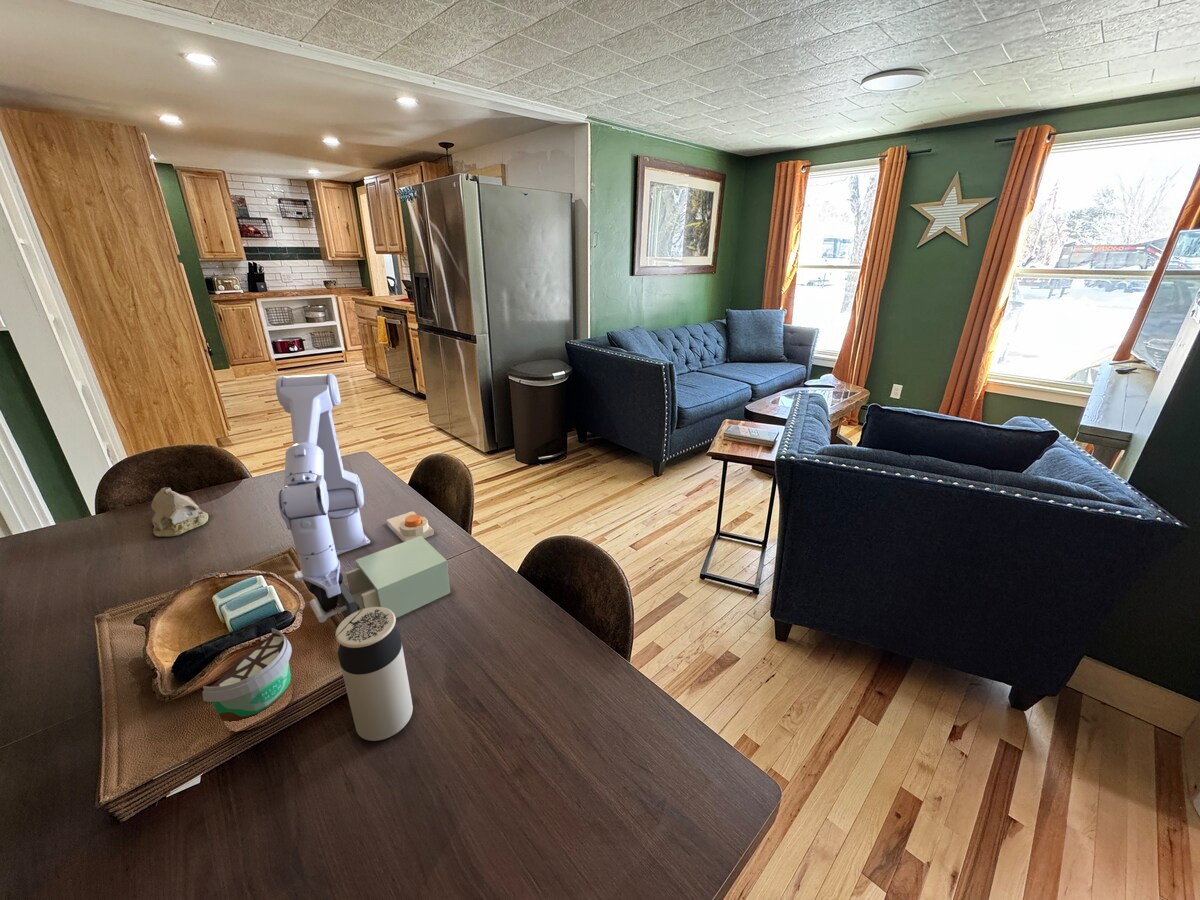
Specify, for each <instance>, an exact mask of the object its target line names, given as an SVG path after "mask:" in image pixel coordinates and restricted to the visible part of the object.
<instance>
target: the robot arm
mask: <svg viewBox="0 0 1200 900" xmlns="http://www.w3.org/2000/svg"><path fill="white" fill-rule="evenodd" d="M275 392H276V397H277V400H278V403H279V405H280V406H281V407H282V408H283V411H284V412H285V413H287V414H290V422H291V432H292V445H291V446H289V447H288V448H287V449H286V451H285V454H284V455H285V456H284V457H285V458H284V484H283V485H284V488H279V491H278V494H277V498H278V499H277V502H278V508H279V512H280V513H279V514H280V515H281V518H282V519H283V521H284V522H285V526H286V528H287V531H288V530H289V531H291V536H292V539H293V543H294V548H295V552H296V555H297V558H298V564H299V567H300V570H298V571H296V572H294V573H293V576H294V579H295V581H296V582H301V581H303V584H304V585H305V587H306V588H307V591H308V592H309V593H310V594H312V595H313V596H314V597H315V599H317V600H318V601H319V603H320V605H321V607H322V609H323V610H324V612H325V613H329V612H331V611H333V610H336V609H338V605H339V604H338V594H340V593H341V591H340V585H341V583H342V581H343V582H344V576H343V574H342V573H341V572H340V570H341V562H340V560H339V559H338V556H339V555H341V554H344V553H347V552H350V551H353V550H356V549H358V548H361V547H365V546H367V545H370V544H371V543H372V542H371V540H370V539H369V537H368V536H367V535H366V534H365V532H364V529H363V528H364V527H363V523H362V522H363V521H362V517H361V512H360V509H361V508H362V507H363V506H364V504H365V496H364V489H363V485H362V482H361V479H360V476H358V474H357V473H354V472H352V471H348V470H345V469H344V465H343V460H342V455H341V451H340V445H339V441H338V437H337V436H338V435H337V431H336V428H335V427H336V426H335V422H334V418H333V413H332V411H333V408H334V407H337V406H340V405H341V402H342V398H341V394H340V389H339V383H338V380H337V377H336V376H335V374H333V373H332V372H328V373H321V374H319V373H318V374H301V375H300V374H299V375H278V377H277V379H276V381H275Z"/></svg>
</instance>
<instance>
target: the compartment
mask: <svg viewBox="0 0 1200 900" xmlns="http://www.w3.org/2000/svg"><path fill="white" fill-rule="evenodd" d="M345 576H346V580H347V585H348V587H347V585H346V584H345V582H344V580H343V581H342V583H341V585H340V591H341V593H340V594H338V604H337V605H338V606H339V607H337V608H335V609H333V610H330V611H328V612H325V611H324V610H323V609H322V607H321V605H320V603H319V601H318V599H317V598H312V599H311V600H310V601H309V605H310V606H309V607H310V608H311V610H312V611H313V613H314V615H315V617H316V619H317V621H318V622H319V623H322V624H323V623H325V622H327V620H328V618H331V617H332V616H335V615H338V614H340V613H342V612H343V614H344V616H345V618H346V617H348V616H349V615H351V614H353V613H354V612H357V611H359V610H362V609H365V608H370V607H380V606H379V601H378V596H377V591H376V589H375V588H374V587H373V585H372V584H371V583H370V581H369V580H368V579H367V577H366V576H365V575H364V573H363V572H362V571H361V569H360V568H357V567H356V568H354V569H351V570H349V571H346V572H345Z"/></svg>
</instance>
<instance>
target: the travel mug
mask: <svg viewBox="0 0 1200 900" xmlns="http://www.w3.org/2000/svg"><path fill="white" fill-rule="evenodd" d="M396 621H397V618H395V615H394V613H393V612H392V611H391V610H389V609H387V608H383V607H370V608H365V609H362V610H360V609H358V611H357V612H354V613H353V614H351V615H349V616H348V617H346V616H345V618H344V619H342V621H341V622H340V623H339V624H338V626H337V627H336V630H335V640H336V641H337V643H338V644H339V646H338V647H337V648H338V649H337V657H338V661H339V666H340V670H341V673H342V677H343V682H344V685H345V691H346V695H347V698H348V702H349V707H350V712H351V715H352V718H353V724H354V728H355V731H356V733H357V735H358V736H359V737H360V738H361V739H363V740H366V741H370V742H371V741H372V742H376V741H382V740H386V739H389V738H390V737H393V736H395V735H396V734H398V733H399V732H400V731H401V730H403V728H405V726H406V725H407V724H408V723H409V721H410V719H411V718H412V715H413V710H414V706H413V699H412V694H411V688H410V683H409V676H408V672H407V667H406V666H407V665H406V660H405V659H406V658H405V653H404V648H403V642H402V636H401V632H400V629H398V627H397V626H396V623H397V622H396Z"/></svg>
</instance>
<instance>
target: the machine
mask: <svg viewBox="0 0 1200 900" xmlns="http://www.w3.org/2000/svg"><path fill="white" fill-rule="evenodd" d="M355 564H356V568H360V569H361V571H362V572H363V573H364V575H365V576H366V577H367V579H368V580H369V581H370V583H371V584H372V585H373V587H374V588H375V589H376V591H377V596H378V601H379V606H380V607H383V608H387V609H389V610H391V611H392V612H393V613H394V615H395V618H396V619H398V618H400V617H402V616H404V615H406V614H409V613H411V612H413V611H415V610H417V609H419V608H421V607H423V606H425V605H427V604H430V603H432V602H434V601H437V600H438V599H441V598H443V597H445V596H447V595H449V594H451V586H450V584H451V583H450V577H449V567H448V560H447V559H446V558H445V557H444V556H443V555H442V554H441V553H440V552H439V551H437V550H436V548H434V546H433V545H431V544H430V543H429V542H428V540H426V538H423V537H422V536H419V537H416V538H414V539H411V540H408V541H405V542H403V541H402V542H400V543H397V544H395V545H392V546H390V547H387V548H384V549H381V550H378V551H376V552H373V553H371V554H368V555H364V556H363V557H359V558H357V559H355Z"/></svg>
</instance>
